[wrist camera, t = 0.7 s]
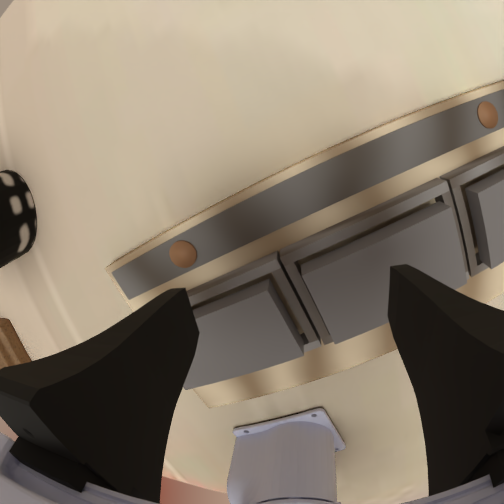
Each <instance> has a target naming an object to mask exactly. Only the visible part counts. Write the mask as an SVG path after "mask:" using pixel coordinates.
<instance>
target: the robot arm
mask: <svg viewBox="0 0 504 504" xmlns="http://www.w3.org/2000/svg"><path fill="white" fill-rule="evenodd" d="M387 316H388V320H389V324H390V327H391V331H392V334H393V338H394V341H395V343H396V346H397V348H398V350H399V353H400V355H401V358H402V360H403V363H404V365H405V368H406V370H407V373H408V375H409V378H410V380H411V383H412V386H413V388H414V392H415V395H416V398H417V403H418V407H419V412H420V416H421V421H422V427H423V433H424V439H425V446H426V455H427V465H428V483H429V496H428V497H425V498H421V499H417V500H414V501H410V502H406V503H401V504H504V311H503V310H500V309H497V308H494V307H492V306H489V305H487V304H484V303H482V302H479V301H477V300H474V299H472V298H470V297H468V296H466V295H464V294H462V293H460V292H458V291H456V290H454V289H452V288H450V287H448V286H447V285H445V284H443V283H441V282H439V281H438V280H436V279H434V278H432V277H431V276H429V275H427V274H425V273H424V272H422V271H420V270H418V269H416V268H414V267H412V266H410V265H408V264H403V265H395V266H390V282H389V300H388V314H387ZM199 333H200V332H199V329H198V326H197V323H196V320H195V317H194V314H193V310H192V307H191V304H190V301H189V298H188V294H187V291H186V288H172V289H169V290H167V291H165V292H163V293H161V294H160V295H158V296H157V297H155V298H154V299H152V300H151V301H149V302H148V303H146V304H145V305H143V306H142V307H140V308H139V309H138V310H136V311H135V312H133V313H132V314H130V315H129V316H127V317H126V318H124V319H123V320H121V321H119V322H118V323H116V324H115V325H113V326H112V327H110V328H108V329H107V330H105V331H103V332H102V333H100V334H98V335H96V336H94V337H92V338H91V339H89V340H87V341H85V342H83V343H80V344H78V345H76V346H73V347H71V348H69V349H66V350H64V351H62V352H59V353H57V354H54V355H51V356H48V357H45V358H42V359H38V360H35V361H31V362H27V363H23V364H18V365H13V366H8V367H3V368H2V369H0V416H1V417H2V419H3V420H4V421H5V422H6V423H7V424H8V426H9V427H10V428H11V429H12V430H13V431H14V432H15V433H16V434H17V435H18V436H19V437H18V438H17V440H16V441H15V442H14V441H13V440H12V439H10V438H9V437H8V436H6V435H5V434H3V433H1V432H0V504H160V490H161V478H162V470H163V463H164V456H165V450H166V445H167V440H168V434H169V430H170V426H171V421H172V417H173V413H174V410H175V407H176V404H177V401H178V398H179V395H180V393H181V390H182V388H183V385H184V382H185V380H186V377H187V375H188V372H189V370H190V367H191V364H192V362H193V359H194V356H195V352H196V348H197V343H198V338H199ZM233 434H234V435H235V436H236V441H235V446H234V451H233V456H232V461H231V465H230V470H229V475H228V479H227V494H228V499H229V502H230V504H341V502H337V485H336V465H335V452H337V451H340V450H343V449H345V448H346V445H345V443H344V441H343V440H342V438H341V436H340V435H339V433H338V431H337V430H336V428H335V427H334V425H333V423H332V422H331V420H330V418H329V417H328V415H327V413H326V412H325V410H324V409H322V408H317V409H314V410H310V411H307V412H303V413H300V414H296V415H292V416H288V417H284V418H280V419H276V420H272V421H267V422H263V423H258V424H254V425H249V426H244V427H238V428H234V429H233Z"/></svg>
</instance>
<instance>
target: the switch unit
mask: <svg viewBox="0 0 504 504" xmlns="http://www.w3.org/2000/svg"><path fill="white" fill-rule="evenodd" d="M502 169H504V80H502V81H499V82H496V83H493V84H490V85H487V86H484V87H481V88H478V89H475V90H472V91H469V92H466V93H464V94H461V95H458V96H455V97H452V98H450V99H447V100H444V101H441V102H439V103H436V104H433V105H431V106H428V107H426V108H423V109H420V110H418V111H415V112H413V113H410V114H408V115H405V116H403V117H400V118H398V119H395V120H393V121H391V122H388V123H386V124H383V125H381V126H378V127H376V128H374V129H371V130H369V131H367V132H364V133H362V134H360V135H357V136H355V137H353V138H351V139H348V140H346V141H344V142H342V143H339V144H337V145H335V146H333V147H330V148H328V149H326V150H324V151H322V152H320V153H317V154H315V155H313V156H311V157H309V158H307V159H305V160H302V161H300V162H298V163H296V164H294V165H292V166H290V167H288V168H286V169H284V170H282V171H280V172H277V173H275V174H273V175H271V176H269V177H267V178H265V179H263V180H261V181H259V182H257V183H255V184H253V185H251V186H249V187H247V188H245V189H243V190H242V191H240V192H238V193H236V194H234V195H232V196H230V197H228V198H226V199H224V200H222V201H220V202H218V203H217V204H215V205H213V206H211V207H209V208H207V209H205V210H203V211H202V212H200V213H198V214H196V215H194V216H192V217H191V218H189V219H187V220H185V221H183V222H181V223H180V224H178V225H176V226H174V227H173V228H171V229H169V230H167V231H165V232H164V233H162V234H160V235H158V236H157V237H155V238H153V239H151V240H150V241H148V242H146V243H144V244H143V245H141V246H139V247H138V248H136V249H134V250H132V251H131V252H129V253H127V254H126V255H124V256H122V257H121V258H119V259H117V260H116V261H114V262H112V263H111V264H110V265H109V266H107V267H106V268H105V270H106V271H107V273H108V274H109V276H110V278H111V279H112V281H113V282H114V284H115V285H116V287H117V288H118V290H119V292H120V293H121V295H122V296H123V298H124V299H125V301H126V302H127V304H128V305H129V307H130V308H131V309H132V311H133V312H135V311H136V310H138V309H139V308H140V307H142V306H143V305H145V304H146V303H148V302H149V301H151V300H152V299H154V298H155V297H157V296H158V295H160V294H161V293H163V292H165V291H167V290H169V289H172V288H186V291H187V294H188V298H189V301H190V304H191V307H192V310H194V309H197V308H199V307H202V306H204V305H206V304H209V303H211V302H214V301H216V300H219V299H221V298H224V297H226V296H228V295H231V294H233V293H236V292H238V291H240V290H243V289H245V288H248V287H250V286H252V285H255V284H257V283H259V282H262V281H264V280H267V279H270V280H271V282H272V284H273V286H274V288H275V290H276V291H277V293H278V295H279V297H280V299H281V301H282V302H283V304H284V306H285V308H286V310H287V312H288V313H289V315H290V317H291V319H292V321H293V323H294V324H295V326H296V328H297V330H298V332H299V334H300V335H301V337H302V339H303V341H304V356H302V357H299V358H297V359H294V360H291V361H288V362H285V363H282V364H278V365H275V366H272V367H269V368H266V369H263V370H259V371H256V372H253V373H249V374H246V375H242V376H239V377H235V378H232V379H228V380H224V381H220V382H217V383H213V384H209V385H205V386H201V387H196V388H192V389H193V390H194V392H195V393H196V394H197V395H198V396H199V397H200V399H201V400H202V401H203V402H204V403H205V404H206V405H207V407H208V408H213V407H218V406H222V405H227V404H231V403H236V402H240V401H244V400H248V399H252V398H256V397H260V396H264V395H268V394H271V393H275V392H278V391H282V390H285V389H289V388H292V387H295V386H299V385H302V384H305V383H308V382H311V381H314V380H317V379H320V378H323V377H326V376H329V375H332V374H335V373H338V372H341V371H343V370H346V369H349V368H351V367H354V366H357V365H359V364H362V363H364V362H367V361H369V360H372V359H374V358H377V357H379V356H382V355H384V354H386V353H389V352H391V351H393V350H396V349H398V348H397V346H396V343H395V341H394V338H393V334H392V331H391V327H390V324H389V323H386V324H384V325H382V326H379V327H377V328H375V329H372V330H370V331H368V332H365V333H363V334H360V335H358V336H356V337H353V338H351V339H348V340H346V341H343V342H340V343H338V344H334V341H333V339H332V337H331V335H330V333H329V331H328V329H327V327H326V325H325V323H324V320H323V318H322V316H321V314H320V312H319V310H318V308H317V306H316V304H315V302H314V300H313V298H312V296H311V294H310V292H309V290H308V288H307V286H306V284H305V282H304V280H303V278H302V273H301V264H304V263H306V262H308V261H310V260H313V259H315V258H317V257H320V256H322V255H324V254H326V253H329V252H331V251H333V250H335V249H338V248H340V247H342V246H344V245H346V244H349V243H351V242H353V241H355V240H357V239H360V238H362V237H364V236H366V235H368V234H371V233H373V232H375V231H377V230H379V229H381V228H384V227H386V226H388V225H390V224H392V223H394V222H396V221H399V220H401V219H403V218H405V217H407V216H409V215H411V214H413V213H415V212H418V211H420V210H422V209H424V208H426V207H428V206H430V205H432V204H434V203H436V202H438V201H440V202H442V203H444V204H446V205H448V206H450V207H451V208H452V212H453V216H454V220H455V224H456V228H457V232H458V236H459V241H460V246H461V250H462V255H463V261H464V266H465V272H466V278H467V284H465V285H463V286H462V287H460V288H458V289H456V291H458V292H460V293H462V294H464V295H466V296H468V297H470V298H472V299H474V300H477V301H479V302H482V303H484V304H486V303H487V302H489V301H491V300H492V299H494V298H495V297H497V296H499V295H500V294H502V293H503V292H504V262H503V263H501V264H500V265H498V266H496V267H495V268H493V269H490V268H489V267H488V266H487V265H485V264H484V263H483V262H482V261H480V257H479V251H478V245H477V240H476V234H475V229H474V225H473V220H472V215H471V211H470V207H469V203H468V199H467V195H466V191H465V188H467V187H469V186H471V185H473V184H475V183H477V182H479V181H481V180H483V179H485V178H487V177H489V176H491V175H493V174H494V173H496V172H498V171H500V170H502Z"/></svg>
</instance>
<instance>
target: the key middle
mask: <svg viewBox="0 0 504 504" xmlns="http://www.w3.org/2000/svg"><path fill="white" fill-rule="evenodd" d="M403 264H408V265H410V266H412V267H414V268H416V269H418V270H420V271H422V272H424V273H425V274H427V275H429V276H431V277H432V278H434V279H436V280H438V281H439V282H441V283H443V284H445V285H447V286H448V287H450V288H452V289H454V290H456V289H458V288H460V287H462V286H463V285H465V284H467V278H466V272H465V266H464V261H463V255H462V250H461V246H460V241H459V236H458V232H457V228H456V224H455V220H454V216H453V212H452V208H451V207H450V206H448V205H446V204H444V203H442V202H440V201H438V202H436V203H434V204H432V205H430V206H428V207H426V208H424V209H422V210H420V211H418V212H415V213H413V214H411V215H409V216H407V217H405V218H403V219H401V220H399V221H396V222H394V223H392V224H390V225H388V226H386V227H384V228H381V229H379V230H377V231H375V232H373V233H371V234H368V235H366V236H364V237H362V238H360V239H357V240H355V241H353V242H351V243H349V244H346V245H344V246H342V247H340V248H338V249H335V250H333V251H331V252H329V253H326V254H324V255H322V256H320V257H317V258H315V259H313V260H310V261H308V262H306V263H304V264H301V273H302V278H303V280H304V282H305V284H306V286H307V288H308V290H309V292H310V294H311V296H312V298H313V300H314V302H315V304H316V306H317V308H318V310H319V312H320V314H321V316H322V318H323V320H324V323H325V325H326V327H327V329H328V331H329V333H330V335H331V337H332V339H333V341H334V344H338V343H340V342H343V341H346V340H348V339H351V338H353V337H356V336H358V335H360V334H363V333H365V332H368V331H370V330H372V329H375V328H377V327H379V326H382V325H384V324H386V323H389V320H388V316H387V314H388V300H389V282H390V266H395V265H403Z"/></svg>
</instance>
